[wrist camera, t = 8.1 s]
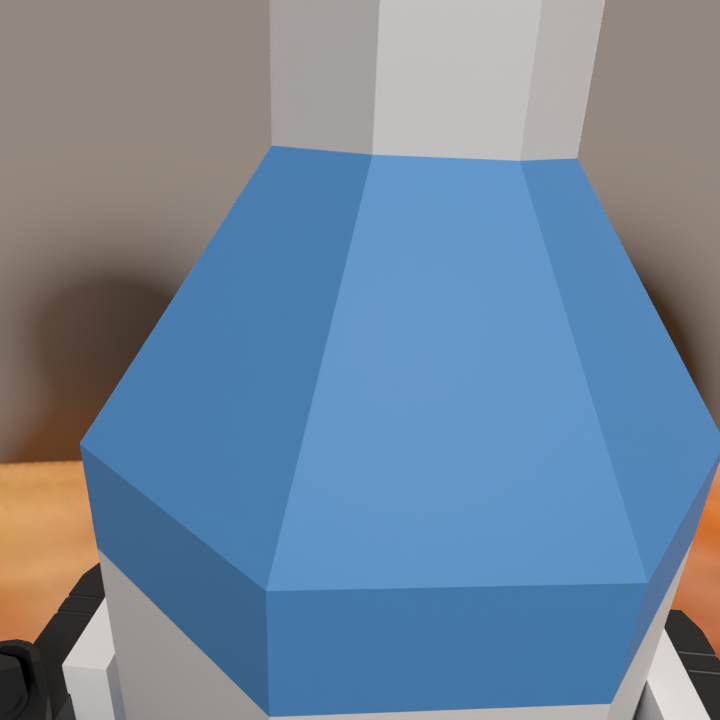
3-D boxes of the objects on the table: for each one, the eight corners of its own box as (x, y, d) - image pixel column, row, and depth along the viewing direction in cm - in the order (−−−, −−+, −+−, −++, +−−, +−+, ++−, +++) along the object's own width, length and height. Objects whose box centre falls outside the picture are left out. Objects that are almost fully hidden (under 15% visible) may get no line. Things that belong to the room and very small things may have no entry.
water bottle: (240, 1447, 11) (-182, -680, 1) (160, 894, 19) (14, -7, 9) (593, 1106, 15) (1132, -34, 5) (408, 767, 23) (491, 49, 13)
